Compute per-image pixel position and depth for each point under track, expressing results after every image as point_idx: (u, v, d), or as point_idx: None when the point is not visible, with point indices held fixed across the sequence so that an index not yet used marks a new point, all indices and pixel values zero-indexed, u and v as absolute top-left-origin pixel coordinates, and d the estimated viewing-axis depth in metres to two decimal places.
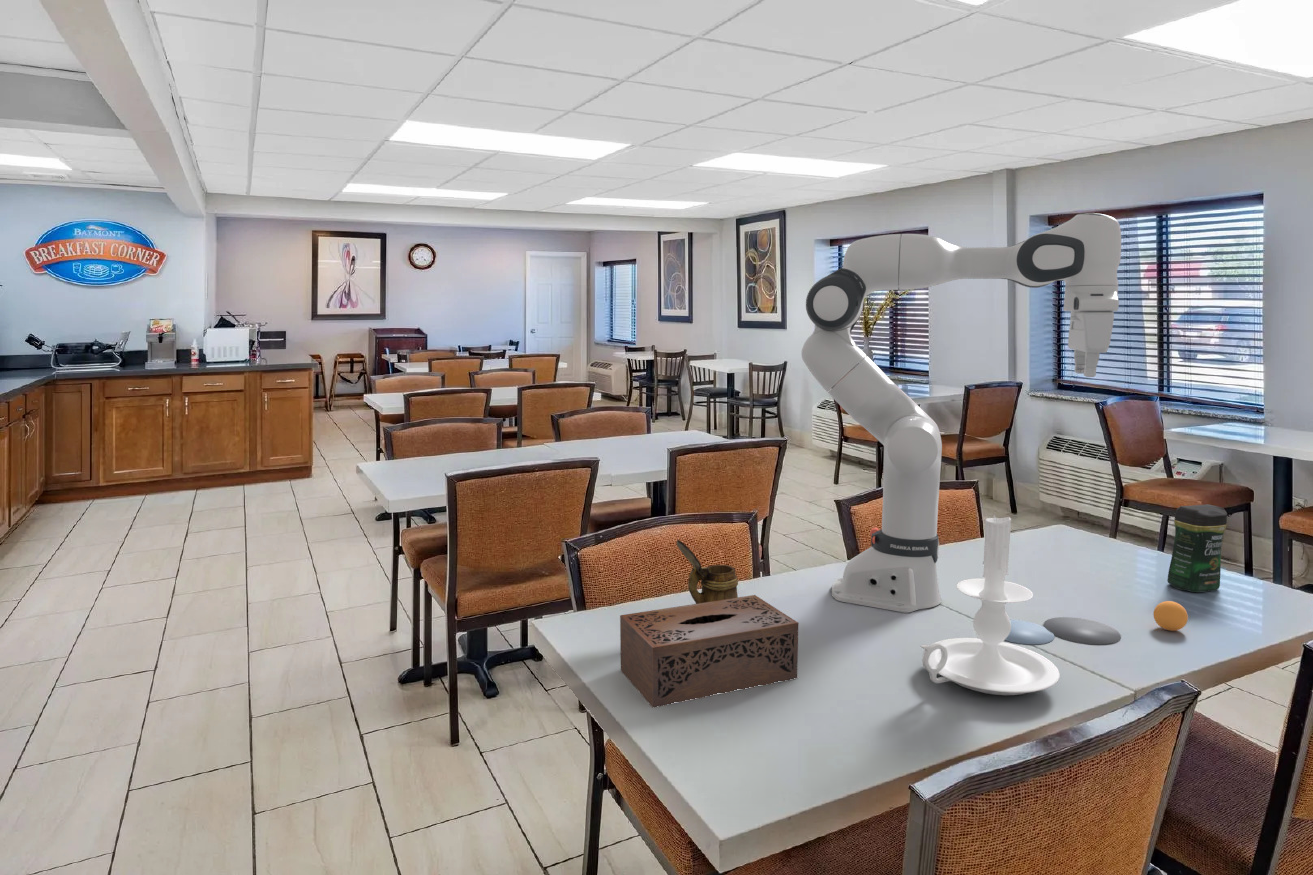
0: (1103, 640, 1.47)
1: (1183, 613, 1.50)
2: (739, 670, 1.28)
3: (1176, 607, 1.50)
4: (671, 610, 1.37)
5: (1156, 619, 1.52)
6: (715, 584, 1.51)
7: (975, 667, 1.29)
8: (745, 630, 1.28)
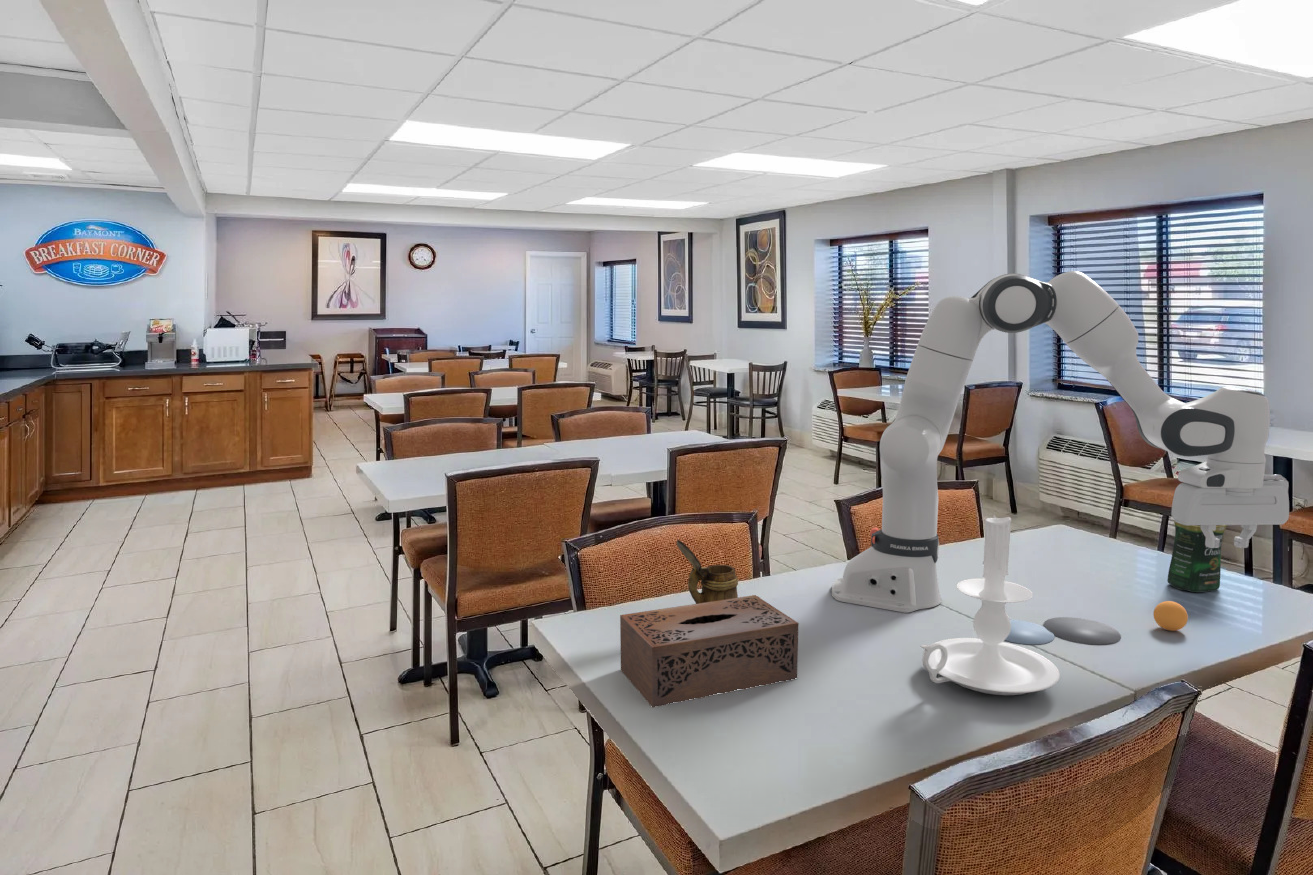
0: (1103, 640, 1.47)
1: (1183, 613, 1.50)
2: (739, 670, 1.28)
3: (1176, 607, 1.50)
4: (671, 610, 1.37)
5: (1156, 619, 1.52)
6: (715, 584, 1.51)
7: (975, 667, 1.29)
8: (744, 631, 1.28)
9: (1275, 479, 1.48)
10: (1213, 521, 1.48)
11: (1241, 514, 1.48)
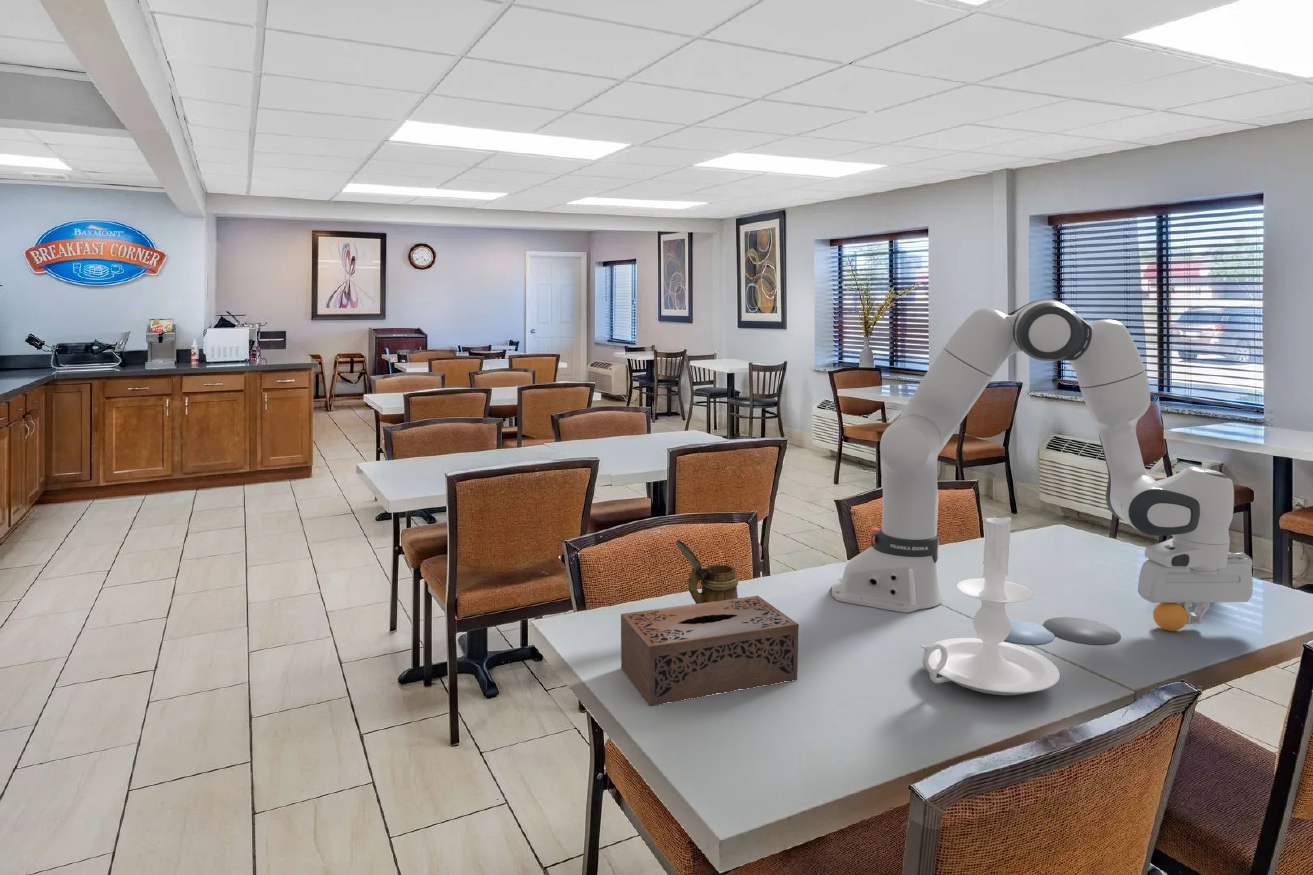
0: (1103, 640, 1.47)
1: (1183, 613, 1.50)
2: (737, 671, 1.28)
3: (1175, 607, 1.50)
4: (672, 609, 1.37)
5: (1156, 620, 1.52)
6: (715, 584, 1.51)
7: (975, 667, 1.29)
8: (743, 631, 1.27)
9: (1239, 557, 1.51)
10: (1178, 599, 1.50)
11: (1205, 591, 1.50)
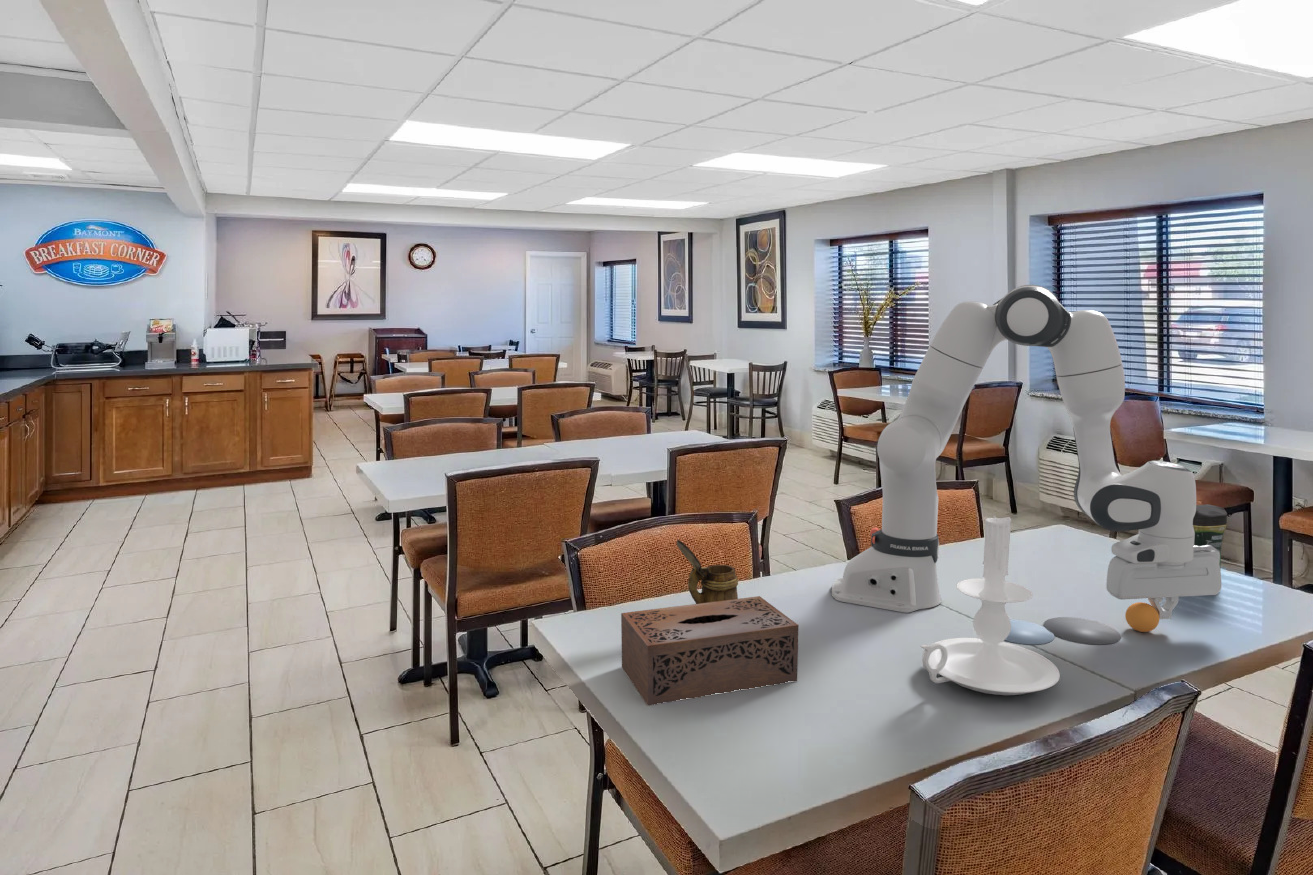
0: (1103, 640, 1.47)
1: (1147, 613, 1.49)
2: (736, 671, 1.28)
3: (1138, 612, 1.50)
4: (673, 609, 1.37)
5: (1133, 628, 1.52)
6: (715, 584, 1.51)
7: (975, 667, 1.29)
8: (743, 631, 1.27)
9: (1206, 550, 1.50)
10: (1147, 594, 1.49)
11: (1173, 586, 1.49)
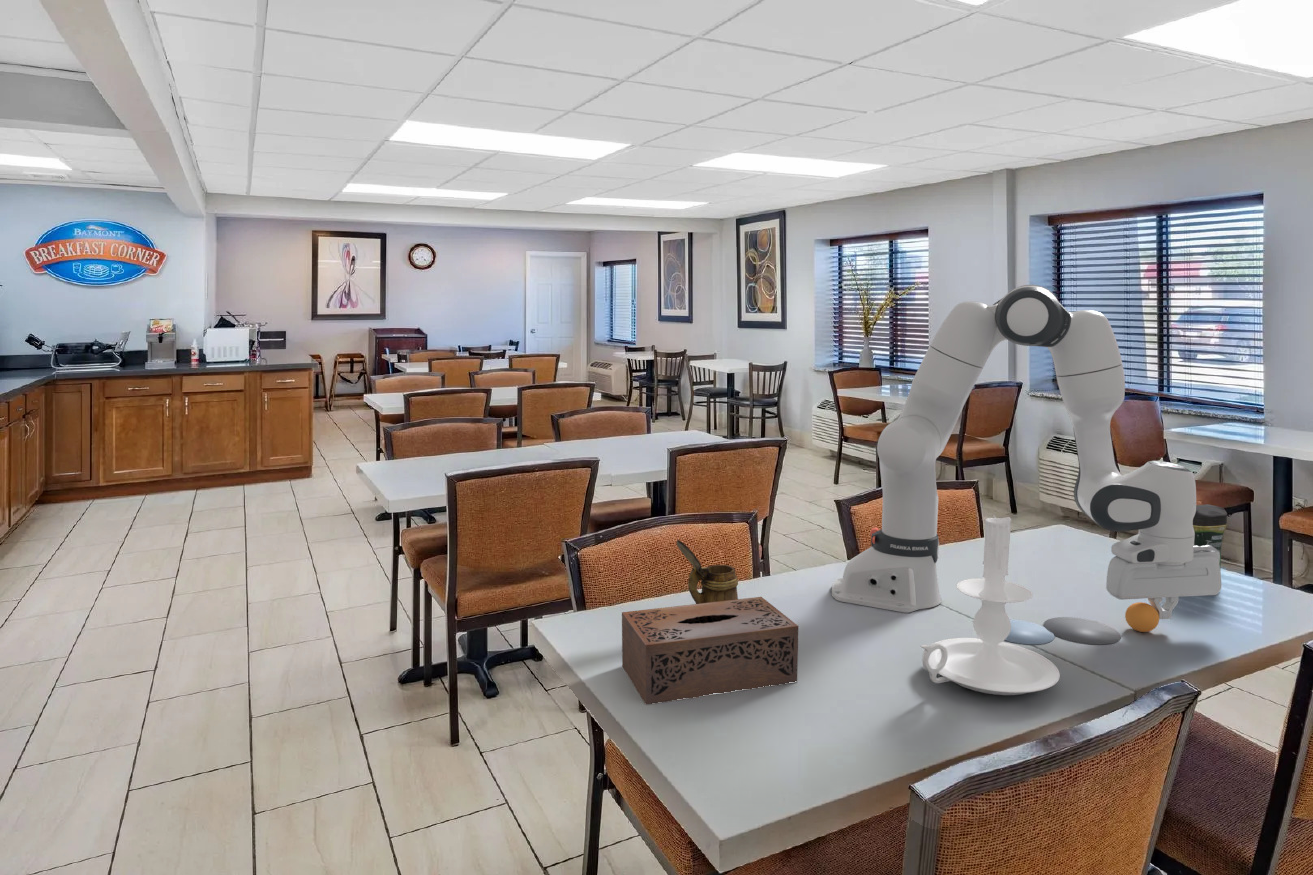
0: (1103, 640, 1.47)
1: (1147, 613, 1.49)
2: (735, 671, 1.27)
3: (1138, 612, 1.50)
4: (673, 609, 1.37)
5: (1133, 628, 1.52)
6: (715, 584, 1.51)
7: (975, 667, 1.29)
8: (742, 632, 1.27)
9: (1206, 550, 1.50)
10: (1147, 594, 1.49)
11: (1173, 586, 1.49)
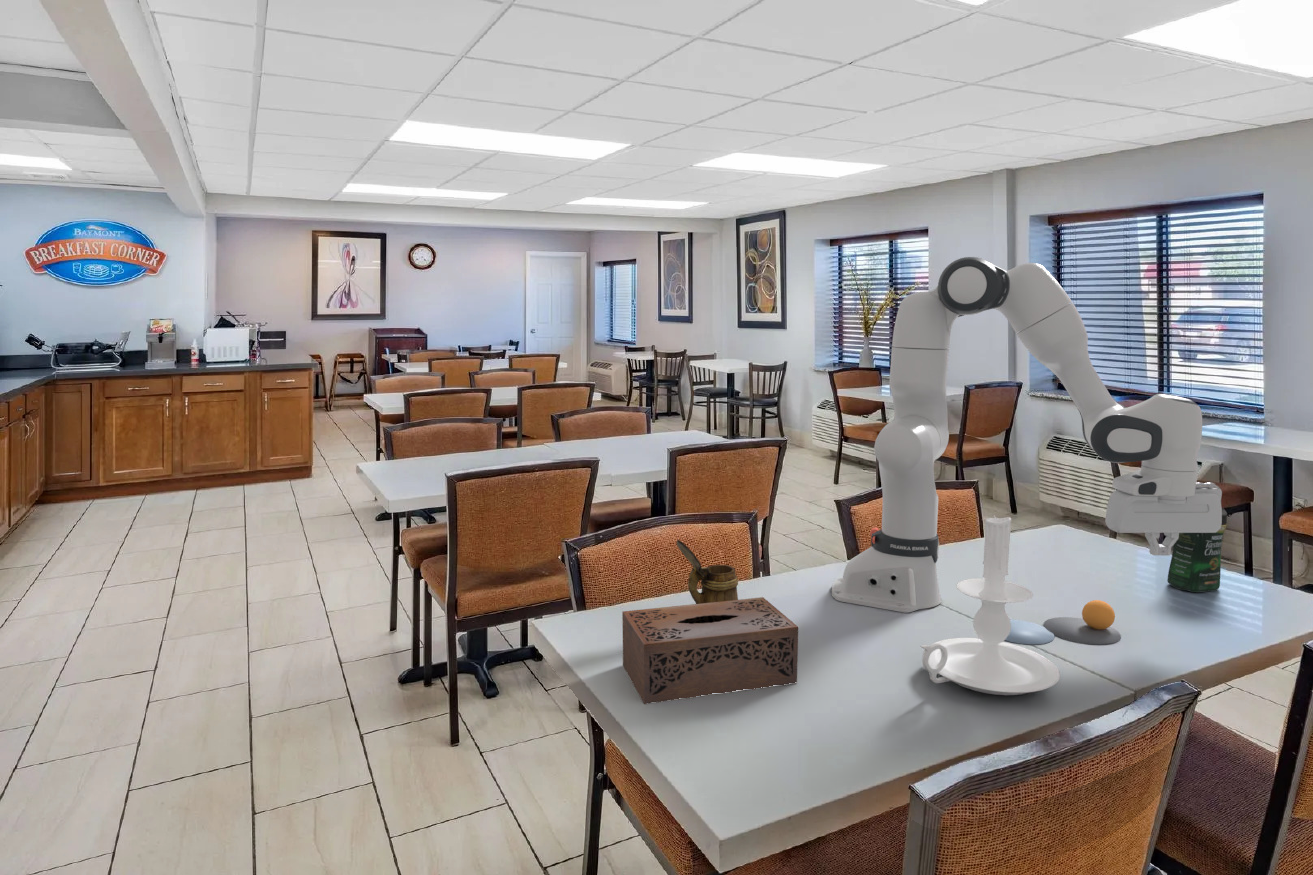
0: (1103, 640, 1.47)
1: (1099, 626, 1.51)
2: (734, 671, 1.27)
3: (1105, 628, 1.51)
4: (674, 609, 1.37)
5: (1111, 607, 1.52)
6: (715, 584, 1.51)
7: (975, 667, 1.29)
8: (741, 632, 1.27)
9: (1208, 487, 1.48)
10: (1146, 529, 1.48)
11: (1173, 521, 1.48)
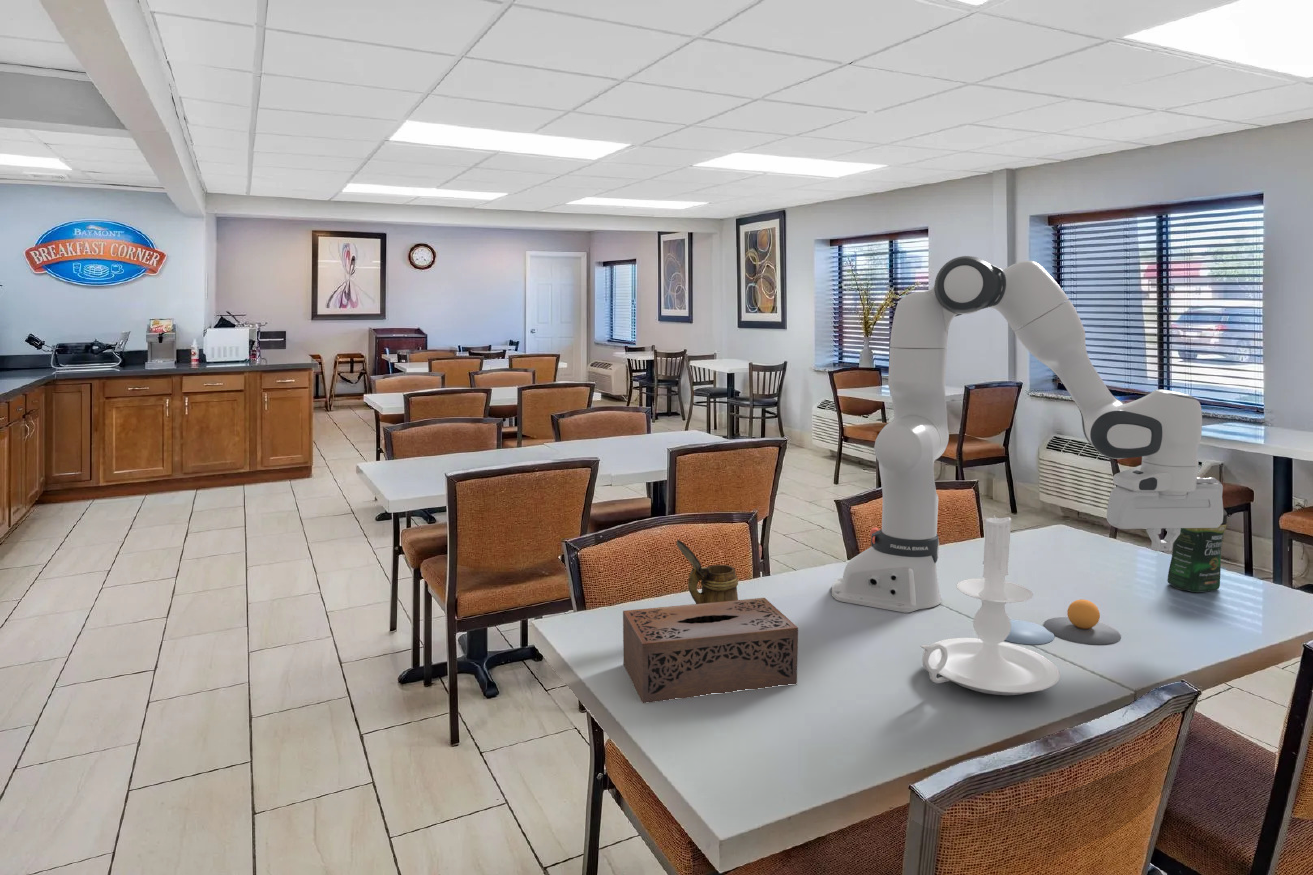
0: (1103, 640, 1.47)
1: (1092, 624, 1.51)
2: (734, 672, 1.27)
3: (1098, 620, 1.51)
4: (674, 608, 1.37)
5: (1083, 600, 1.53)
6: (715, 584, 1.51)
7: (975, 667, 1.29)
8: (740, 632, 1.27)
9: (1209, 482, 1.48)
10: (1147, 524, 1.47)
11: (1175, 517, 1.47)
